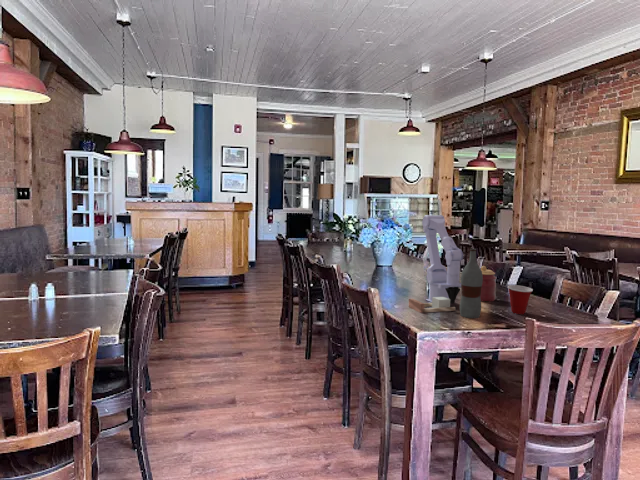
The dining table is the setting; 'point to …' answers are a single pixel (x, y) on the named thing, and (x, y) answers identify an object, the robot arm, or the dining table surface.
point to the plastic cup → (519, 298)
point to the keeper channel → (420, 306)
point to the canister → (488, 285)
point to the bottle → (471, 288)
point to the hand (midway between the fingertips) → (452, 302)
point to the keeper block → (440, 302)
